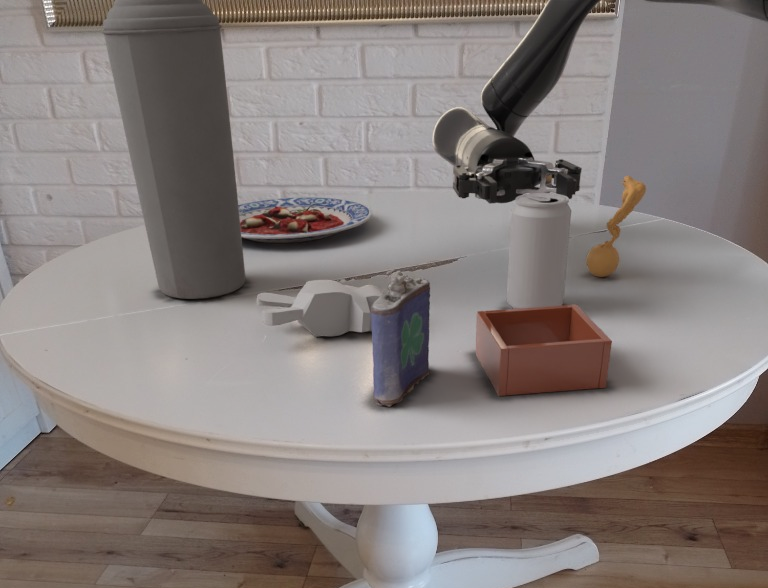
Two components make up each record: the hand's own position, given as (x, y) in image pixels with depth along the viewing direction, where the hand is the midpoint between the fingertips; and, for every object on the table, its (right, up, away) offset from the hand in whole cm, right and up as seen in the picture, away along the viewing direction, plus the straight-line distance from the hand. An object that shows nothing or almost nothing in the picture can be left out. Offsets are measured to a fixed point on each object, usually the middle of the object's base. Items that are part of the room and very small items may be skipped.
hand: (532, 191), depth 87 cm
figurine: (+12, -6, +13) cm, 19 cm away
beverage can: (+1, -12, +5) cm, 13 cm away
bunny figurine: (-22, -15, 0) cm, 27 cm away
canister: (-39, -7, +15) cm, 43 cm away
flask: (-15, -23, -13) cm, 30 cm away
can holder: (-1, -21, -11) cm, 24 cm away
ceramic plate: (-31, +9, +39) cm, 50 cm away
